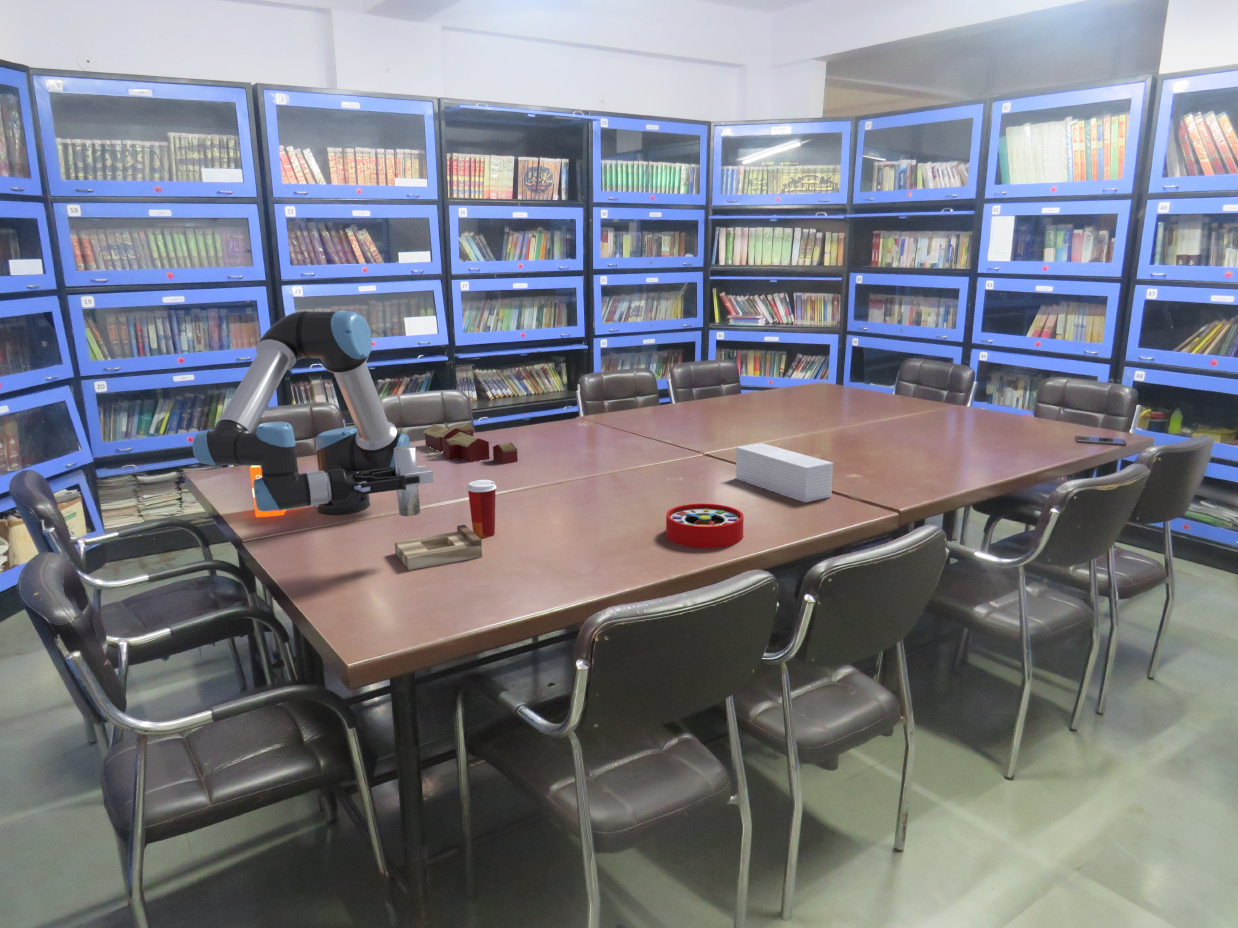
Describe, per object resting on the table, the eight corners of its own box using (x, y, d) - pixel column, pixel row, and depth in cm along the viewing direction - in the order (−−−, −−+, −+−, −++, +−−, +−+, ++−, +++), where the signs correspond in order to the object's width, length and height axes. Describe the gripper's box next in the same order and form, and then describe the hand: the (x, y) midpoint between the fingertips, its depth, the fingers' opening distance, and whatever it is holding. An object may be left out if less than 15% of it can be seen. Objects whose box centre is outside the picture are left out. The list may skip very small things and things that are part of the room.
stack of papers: (735, 479, 271) (736, 447, 268) (760, 474, 276) (761, 442, 274) (805, 503, 244) (806, 467, 242) (831, 497, 250) (833, 462, 247)
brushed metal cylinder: (397, 511, 201) (391, 447, 197) (417, 508, 203) (412, 444, 199) (401, 517, 196) (396, 451, 192) (422, 514, 198) (417, 449, 195)
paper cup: (500, 529, 224) (497, 478, 220) (497, 538, 216) (494, 486, 213) (471, 529, 224) (468, 479, 220) (467, 539, 216) (463, 487, 213)
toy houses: (419, 448, 320) (417, 422, 317) (467, 440, 332) (465, 415, 329) (475, 471, 285) (473, 442, 282) (526, 461, 297) (525, 434, 295)
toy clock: (715, 532, 202) (650, 516, 215) (714, 555, 204) (650, 538, 216) (758, 512, 217) (695, 499, 230) (757, 534, 218) (695, 519, 231)
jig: (395, 553, 207) (394, 536, 205) (465, 541, 215) (464, 524, 214) (408, 570, 195) (407, 552, 194) (482, 556, 204) (481, 539, 203)
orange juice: (255, 517, 236) (246, 449, 231) (259, 508, 245) (251, 442, 240) (284, 514, 238) (276, 447, 233) (287, 506, 247) (280, 440, 242)
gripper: (324, 492, 198) (421, 480, 208) (335, 513, 183) (440, 498, 193) (320, 462, 196) (419, 451, 207) (332, 480, 181) (438, 466, 191)
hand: (429, 473), depth 200 cm, fingers closed on brushed metal cylinder, 5 cm apart
